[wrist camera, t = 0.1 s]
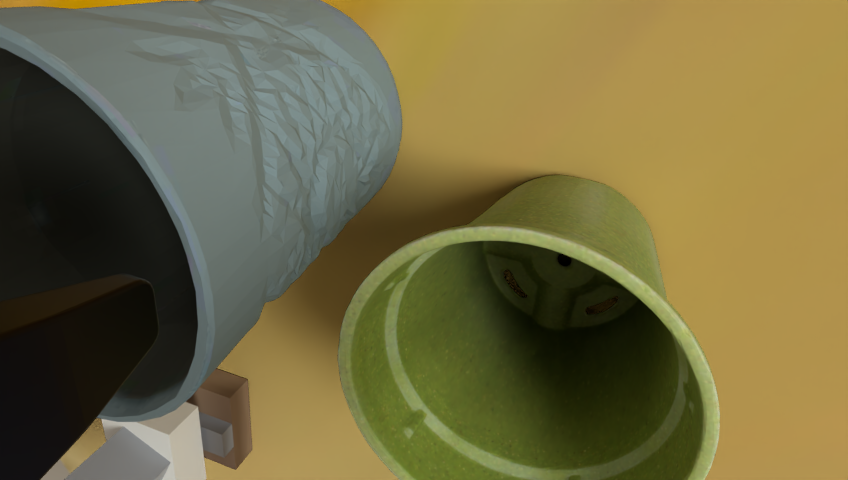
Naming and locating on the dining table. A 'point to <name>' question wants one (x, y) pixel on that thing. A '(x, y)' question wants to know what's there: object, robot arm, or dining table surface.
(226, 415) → the rail bed
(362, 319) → the plant pot
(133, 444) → the carriage
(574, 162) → the dining table surface
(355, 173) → the drinking glass
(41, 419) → the robot arm
